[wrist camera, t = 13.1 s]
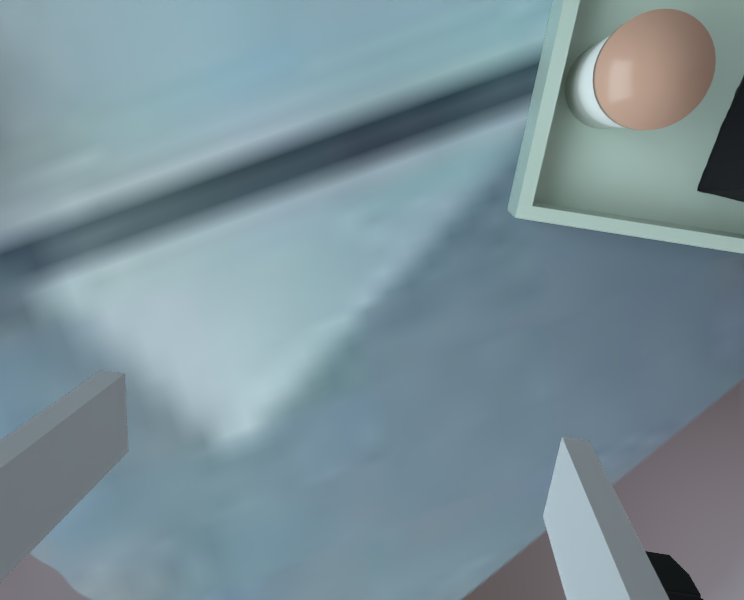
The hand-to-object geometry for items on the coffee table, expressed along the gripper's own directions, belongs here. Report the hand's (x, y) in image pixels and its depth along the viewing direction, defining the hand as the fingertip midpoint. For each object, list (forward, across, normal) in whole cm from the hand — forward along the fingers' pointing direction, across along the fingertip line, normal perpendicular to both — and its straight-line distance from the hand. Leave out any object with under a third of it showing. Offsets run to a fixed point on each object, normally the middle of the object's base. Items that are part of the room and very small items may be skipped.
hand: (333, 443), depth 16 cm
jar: (+30, +14, +14) cm, 35 cm away
